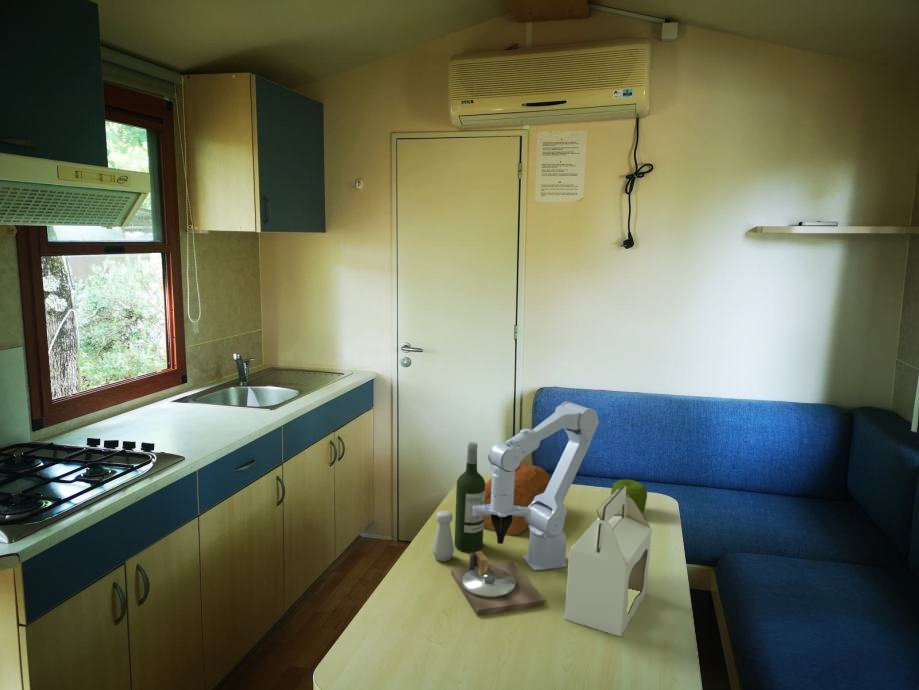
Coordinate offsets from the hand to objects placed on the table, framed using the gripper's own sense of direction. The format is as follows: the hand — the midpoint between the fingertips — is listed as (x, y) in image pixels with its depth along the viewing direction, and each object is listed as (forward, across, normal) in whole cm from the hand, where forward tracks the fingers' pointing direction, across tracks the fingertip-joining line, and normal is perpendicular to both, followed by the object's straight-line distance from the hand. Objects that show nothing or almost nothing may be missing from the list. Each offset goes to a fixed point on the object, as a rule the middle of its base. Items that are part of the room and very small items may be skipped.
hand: (500, 542), depth 178 cm
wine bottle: (+10, -8, +16) cm, 21 cm away
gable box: (+10, +25, -13) cm, 30 cm away
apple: (+10, +44, +44) cm, 62 cm away
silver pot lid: (+8, -3, -6) cm, 10 cm away
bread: (+10, +7, +38) cm, 40 cm away
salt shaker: (+10, -14, +9) cm, 20 cm away
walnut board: (+9, -1, -7) cm, 12 cm away
